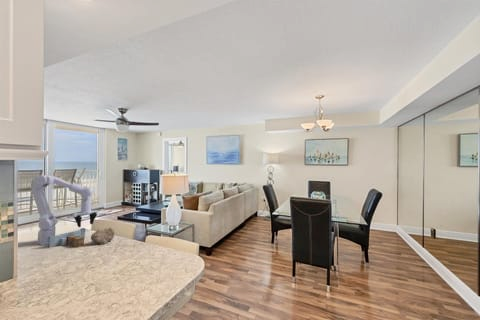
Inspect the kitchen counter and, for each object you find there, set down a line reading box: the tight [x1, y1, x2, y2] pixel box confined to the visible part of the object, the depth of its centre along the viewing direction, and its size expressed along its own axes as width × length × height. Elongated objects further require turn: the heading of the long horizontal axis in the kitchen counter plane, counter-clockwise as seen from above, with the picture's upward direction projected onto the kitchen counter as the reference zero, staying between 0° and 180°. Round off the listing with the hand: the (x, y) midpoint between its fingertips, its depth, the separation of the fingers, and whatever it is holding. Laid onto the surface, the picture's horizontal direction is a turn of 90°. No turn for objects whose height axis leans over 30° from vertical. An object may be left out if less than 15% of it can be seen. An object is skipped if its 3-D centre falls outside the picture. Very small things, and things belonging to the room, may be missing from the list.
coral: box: [90, 227, 115, 245], centre depth 139 cm, size 14×9×10 cm, turn 153°
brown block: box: [66, 235, 85, 248], centre depth 133 cm, size 13×4×5 cm, turn 65°
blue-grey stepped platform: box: [47, 227, 86, 249], centre depth 136 cm, size 5×20×7 cm, turn 155°
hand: (85, 225), depth 143 cm, fingers open, 7 cm apart
